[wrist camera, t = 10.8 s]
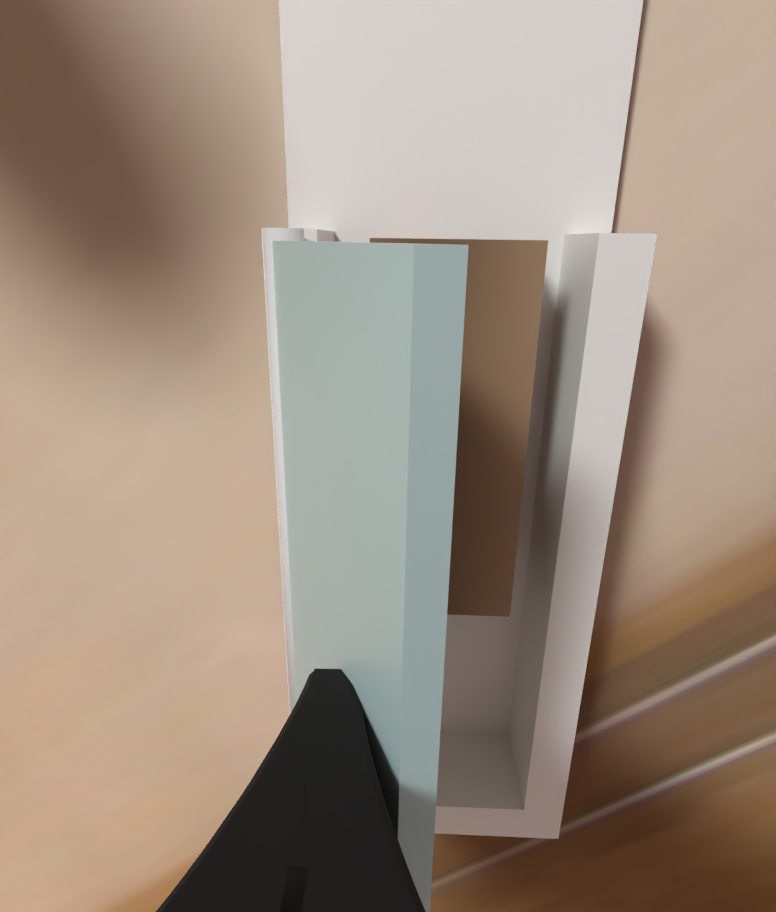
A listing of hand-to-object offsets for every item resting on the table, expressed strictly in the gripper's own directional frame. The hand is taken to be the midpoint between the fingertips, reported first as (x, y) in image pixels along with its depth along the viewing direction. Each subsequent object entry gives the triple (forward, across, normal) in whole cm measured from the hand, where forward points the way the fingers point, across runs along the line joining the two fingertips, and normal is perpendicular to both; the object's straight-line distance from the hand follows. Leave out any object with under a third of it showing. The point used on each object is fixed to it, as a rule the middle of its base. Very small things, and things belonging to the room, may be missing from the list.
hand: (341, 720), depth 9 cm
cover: (+1, 0, 0) cm, 1 cm away
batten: (+6, -2, -3) cm, 7 cm away
